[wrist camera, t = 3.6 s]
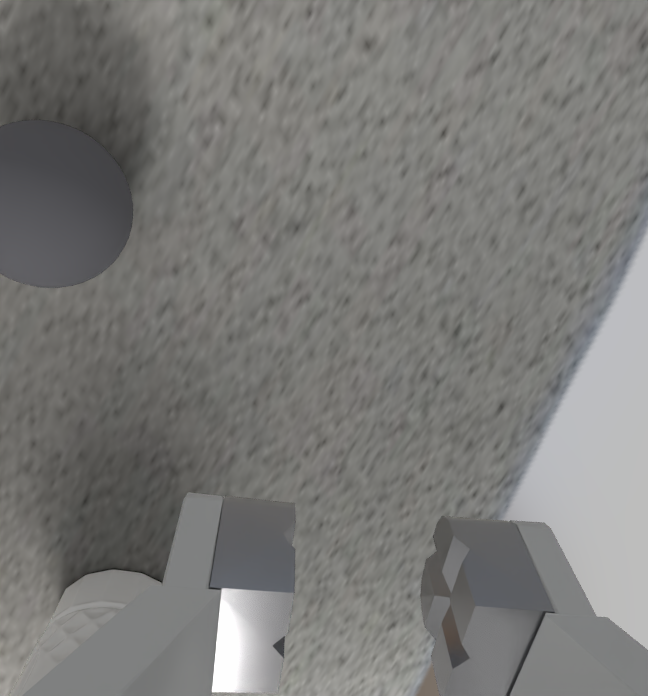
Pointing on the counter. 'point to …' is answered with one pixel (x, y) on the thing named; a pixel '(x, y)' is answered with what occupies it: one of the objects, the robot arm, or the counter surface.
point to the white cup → (80, 619)
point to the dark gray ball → (59, 205)
